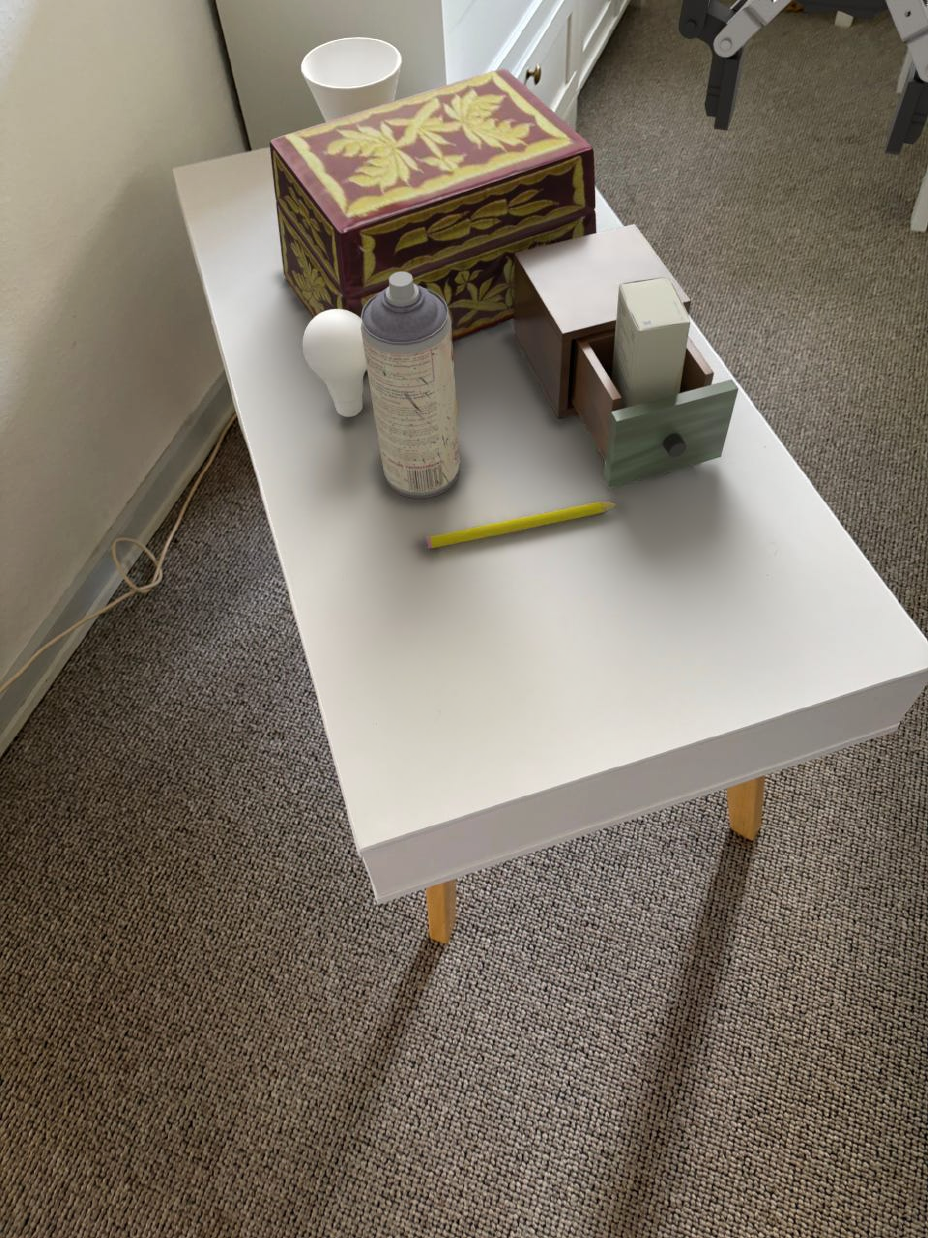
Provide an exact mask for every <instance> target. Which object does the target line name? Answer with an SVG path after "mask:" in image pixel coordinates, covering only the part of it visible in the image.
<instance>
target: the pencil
mask: <svg viewBox="0 0 928 1238" xmlns="http://www.w3.org/2000/svg"><path fill="white" fill-rule="evenodd" d="M616 505H617V503H614V502H607V501H596V502H591V503H587V504H582V505H581V504H580V505H577V506H576V505H575V506H571V507H567V508H562V509H557V510H553V511H547V512H543V513H537V514H533V515H528V516H524V517H523V516H522V517H518V518H513V519H507V520H505V521H499V522H494V523H488V524H483V525H479V526H475V527H469V528H465V529H460V530H455V531H449V532H445V533H441V534H436V535H431V536H426V538H425V539H426V544H427V548H428V549H429V550H430V549H435V548H440V547H444V546H449V545H455V544H459V543H464V542H469V541H473V540H474V541H475V540H479V539H484V538H489V537H493V536H497V535H503V534H507V533H511V532H517V531H522V530H528V529H532V528H537V527H541V526H545V525H550V524H555V523H560V522H565V521H570V520H575V519H580V518H584V517H589V516H593V515H598V514H602V513H605V512H606V511H607V510H609V509H611V508H613V507H615V506H616Z"/></svg>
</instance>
